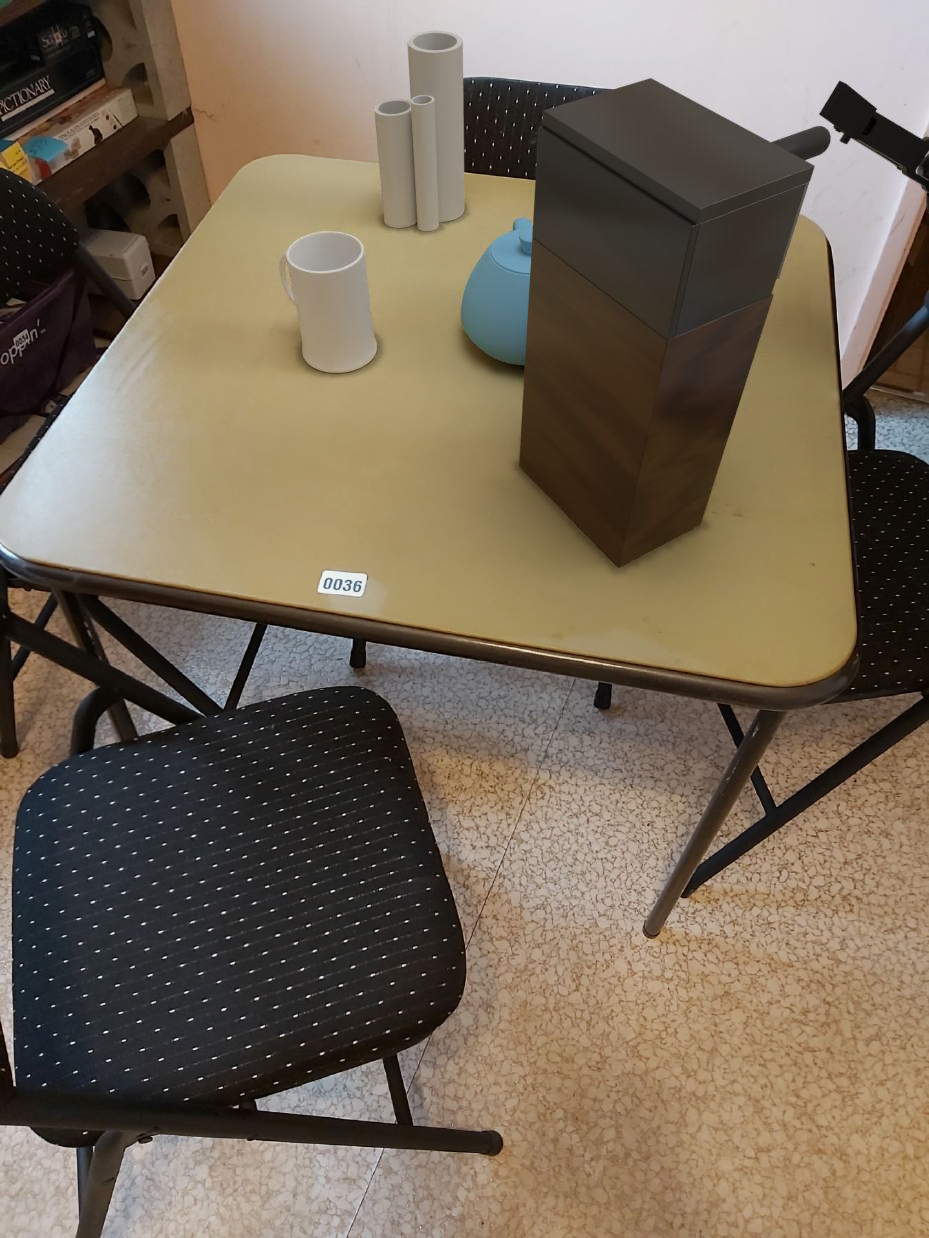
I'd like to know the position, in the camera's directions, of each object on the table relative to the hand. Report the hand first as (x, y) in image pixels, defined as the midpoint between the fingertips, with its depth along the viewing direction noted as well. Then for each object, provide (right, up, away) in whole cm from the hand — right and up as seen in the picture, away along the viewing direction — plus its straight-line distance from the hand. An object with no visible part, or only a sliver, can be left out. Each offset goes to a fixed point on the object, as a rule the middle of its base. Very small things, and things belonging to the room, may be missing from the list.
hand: (896, 129), depth 68 cm
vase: (-40, +15, +46) cm, 63 cm away
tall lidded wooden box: (-21, -27, +14) cm, 37 cm away
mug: (-50, -8, +29) cm, 59 cm away
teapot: (-25, -7, +30) cm, 40 cm away
